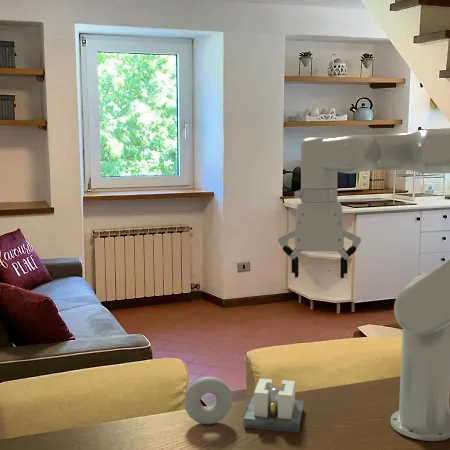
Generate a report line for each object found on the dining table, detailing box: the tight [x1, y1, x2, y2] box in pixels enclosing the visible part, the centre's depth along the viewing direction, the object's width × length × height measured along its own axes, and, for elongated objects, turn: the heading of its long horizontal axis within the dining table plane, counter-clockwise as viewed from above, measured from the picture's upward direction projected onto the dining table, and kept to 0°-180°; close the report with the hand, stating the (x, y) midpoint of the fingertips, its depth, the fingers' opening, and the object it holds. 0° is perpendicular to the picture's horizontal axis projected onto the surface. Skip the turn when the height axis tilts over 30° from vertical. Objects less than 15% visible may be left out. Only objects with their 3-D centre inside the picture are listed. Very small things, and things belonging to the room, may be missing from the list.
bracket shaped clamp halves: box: [253, 378, 296, 419], centre depth 131 cm, size 8×8×5 cm
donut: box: [183, 376, 234, 425], centre depth 129 cm, size 10×4×10 cm, turn 98°
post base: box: [243, 385, 304, 434], centre depth 131 cm, size 11×11×6 cm
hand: (319, 276), depth 134 cm, fingers open, 9 cm apart
